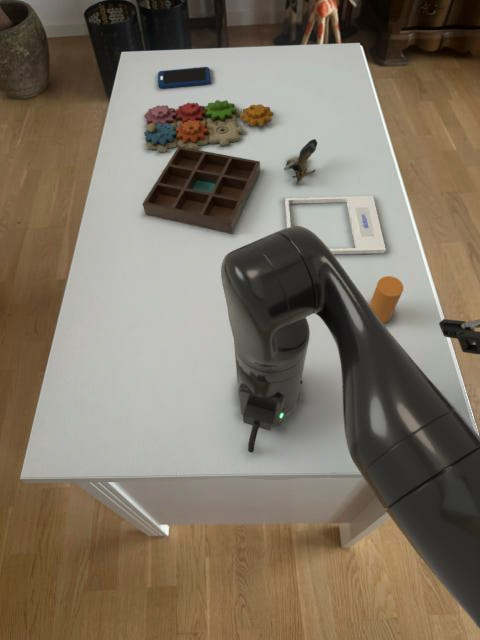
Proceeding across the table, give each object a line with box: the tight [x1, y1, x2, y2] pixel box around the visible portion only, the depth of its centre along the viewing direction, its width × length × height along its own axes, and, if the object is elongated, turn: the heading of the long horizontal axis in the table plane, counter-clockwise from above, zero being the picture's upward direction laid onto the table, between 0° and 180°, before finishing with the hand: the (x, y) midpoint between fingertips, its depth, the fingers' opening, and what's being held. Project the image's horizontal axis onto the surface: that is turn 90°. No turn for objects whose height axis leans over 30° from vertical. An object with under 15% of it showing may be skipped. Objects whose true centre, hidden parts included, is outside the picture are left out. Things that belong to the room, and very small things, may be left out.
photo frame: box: [284, 195, 386, 255], centre depth 87 cm, size 15×1×18 cm
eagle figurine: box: [283, 138, 318, 185], centre depth 94 cm, size 8×7×9 cm
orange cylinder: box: [369, 275, 404, 324], centre depth 73 cm, size 4×4×8 cm
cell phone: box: [157, 66, 212, 89], centre depth 118 cm, size 7×14×1 cm, turn 96°
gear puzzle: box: [143, 99, 274, 153], centre depth 105 cm, size 31×16×4 cm, turn 96°
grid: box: [142, 146, 261, 235], centre depth 93 cm, size 19×19×3 cm
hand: (463, 310), depth 59 cm, fingers open, 8 cm apart
